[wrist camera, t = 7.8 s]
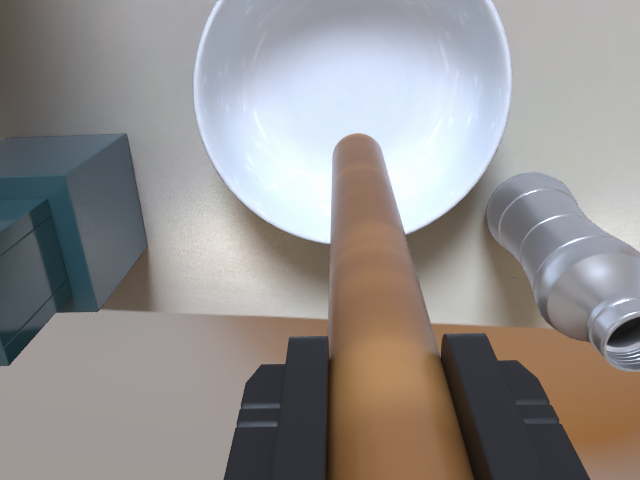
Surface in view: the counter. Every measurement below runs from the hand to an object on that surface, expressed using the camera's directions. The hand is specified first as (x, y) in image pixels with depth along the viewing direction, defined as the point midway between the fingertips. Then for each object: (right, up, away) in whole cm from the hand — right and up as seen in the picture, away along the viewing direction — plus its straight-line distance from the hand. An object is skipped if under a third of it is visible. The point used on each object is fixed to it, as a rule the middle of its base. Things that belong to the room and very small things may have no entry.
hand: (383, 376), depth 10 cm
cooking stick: (0, +6, +14) cm, 15 cm away
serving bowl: (+1, +14, +32) cm, 35 cm away
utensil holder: (-22, +6, +36) cm, 43 cm away
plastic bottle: (+16, +6, +36) cm, 39 cm away
